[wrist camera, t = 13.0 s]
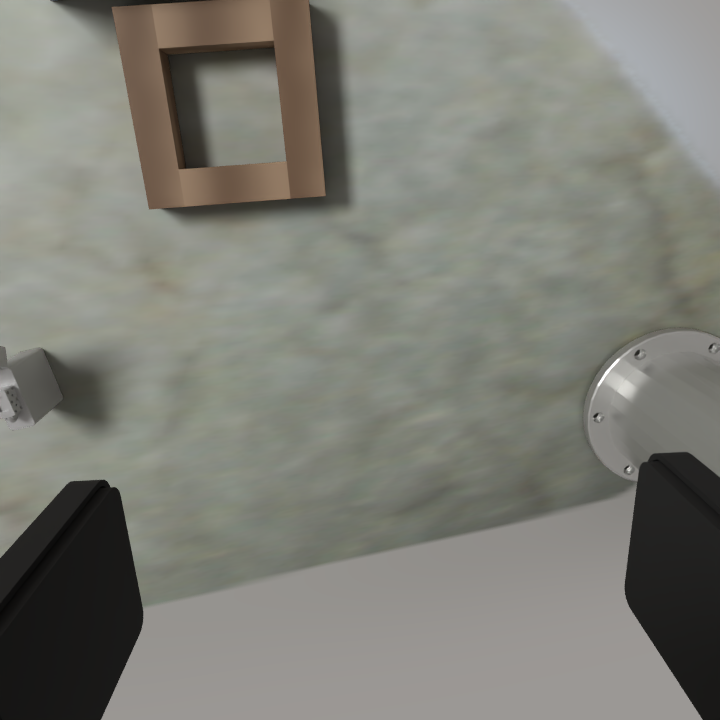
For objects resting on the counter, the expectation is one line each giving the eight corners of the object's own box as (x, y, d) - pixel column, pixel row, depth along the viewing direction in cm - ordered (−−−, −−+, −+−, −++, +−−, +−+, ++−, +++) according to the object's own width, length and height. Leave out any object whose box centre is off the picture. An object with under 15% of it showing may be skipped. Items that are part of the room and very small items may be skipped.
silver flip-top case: (64, 399, 41) (5, 452, 34) (41, 404, 41) (-23, 458, 34) (25, 306, 39) (-48, 340, 31) (0, 312, 39) (-79, 347, 31)
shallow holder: (309, 3, 34) (308, -7, 32) (325, 194, 38) (325, 195, 36) (123, 15, 34) (111, 6, 32) (158, 207, 37) (149, 209, 35)
